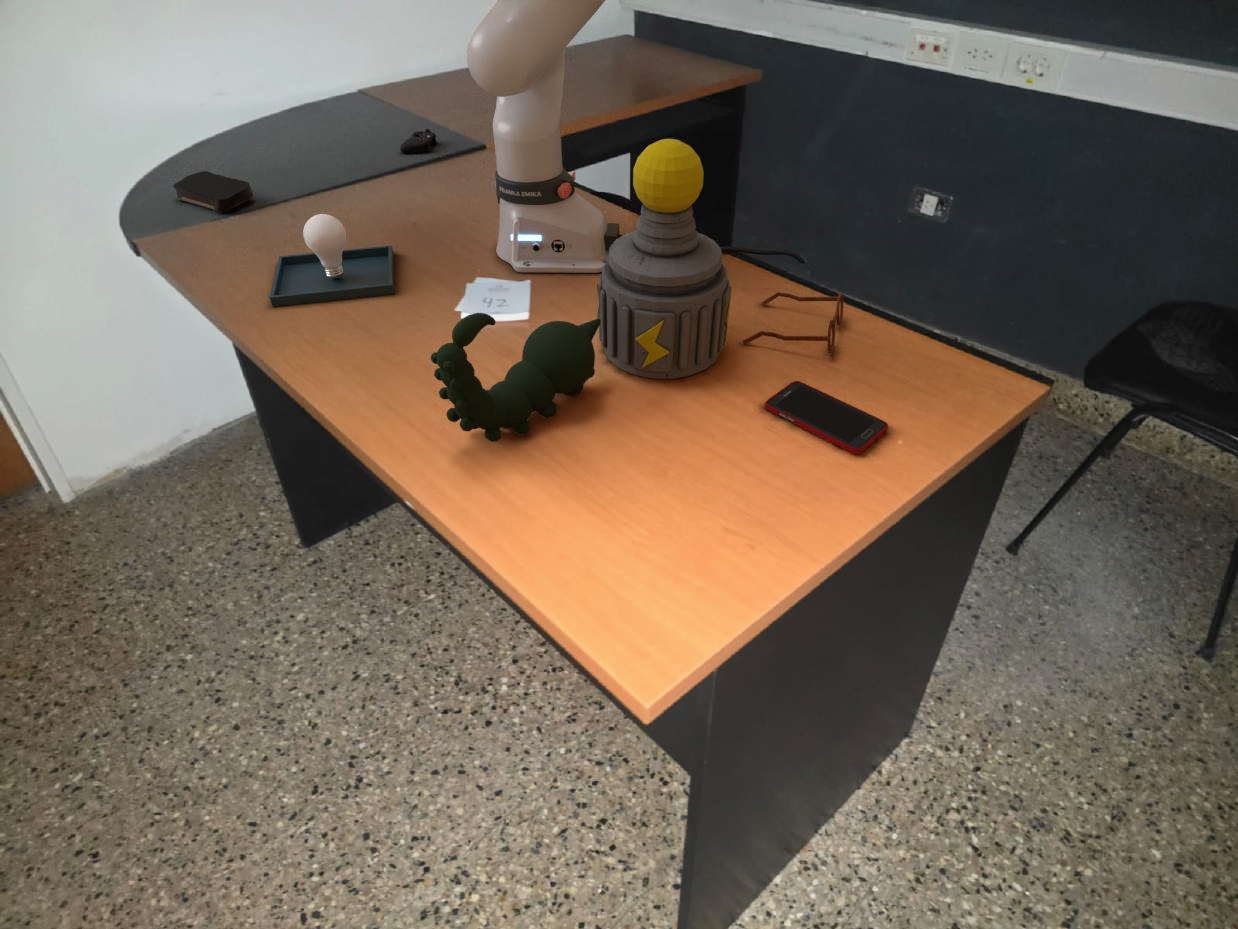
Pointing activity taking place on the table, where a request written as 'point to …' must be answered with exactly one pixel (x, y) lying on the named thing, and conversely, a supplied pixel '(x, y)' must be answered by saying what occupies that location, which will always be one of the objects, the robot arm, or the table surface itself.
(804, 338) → the glasses
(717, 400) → the table surface
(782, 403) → the cell phone
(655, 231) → the decorative lamp
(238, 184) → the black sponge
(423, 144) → the game controller
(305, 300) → the tray
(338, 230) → the light bulb
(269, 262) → the table surface
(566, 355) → the toy figurine
